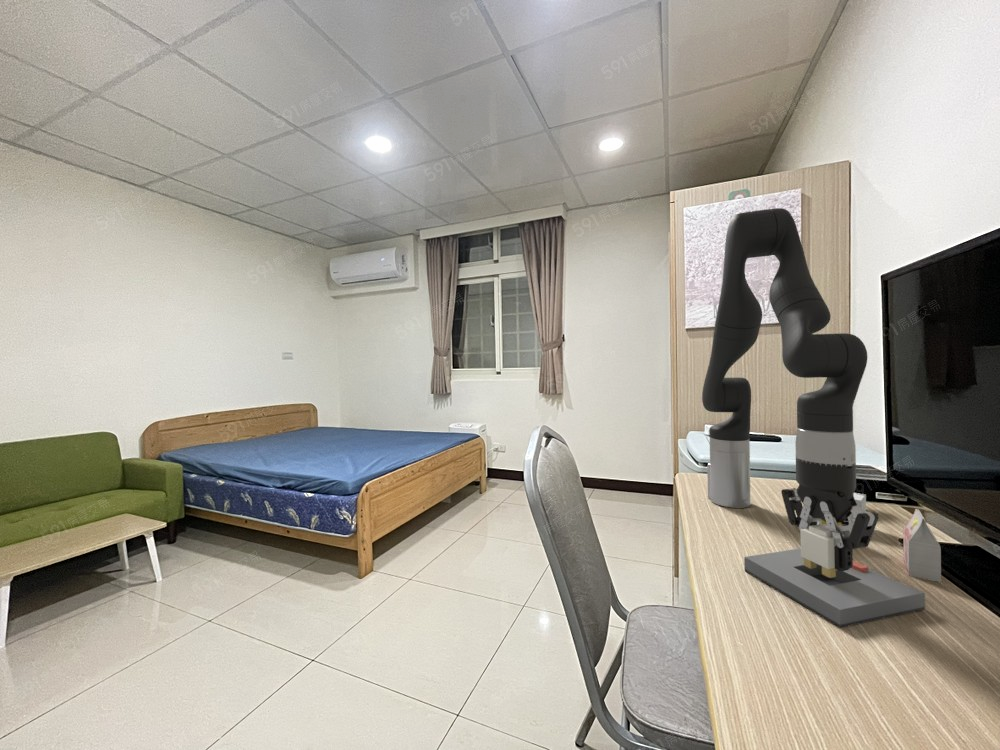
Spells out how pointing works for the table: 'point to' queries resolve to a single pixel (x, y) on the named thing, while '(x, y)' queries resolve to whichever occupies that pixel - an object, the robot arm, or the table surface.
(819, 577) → the socket
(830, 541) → the plug
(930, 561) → the tea bag
